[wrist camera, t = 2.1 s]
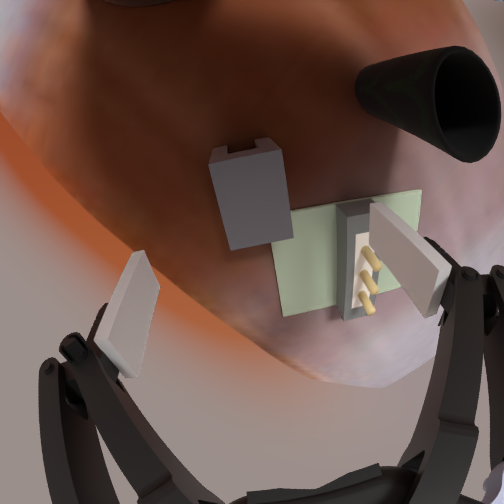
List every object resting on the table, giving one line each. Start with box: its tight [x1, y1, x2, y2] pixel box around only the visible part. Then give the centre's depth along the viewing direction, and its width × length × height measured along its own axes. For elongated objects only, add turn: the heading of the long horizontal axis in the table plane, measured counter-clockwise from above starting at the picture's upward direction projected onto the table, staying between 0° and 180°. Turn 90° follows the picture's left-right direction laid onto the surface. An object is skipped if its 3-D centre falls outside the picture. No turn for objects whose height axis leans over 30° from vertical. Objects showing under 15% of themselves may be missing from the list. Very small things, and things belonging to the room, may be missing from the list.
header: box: [271, 189, 422, 321], centre depth 27 cm, size 14×18×6 cm
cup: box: [355, 46, 501, 163], centre depth 15 cm, size 8×8×12 cm
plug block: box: [208, 137, 294, 251], centre depth 22 cm, size 7×5×6 cm
